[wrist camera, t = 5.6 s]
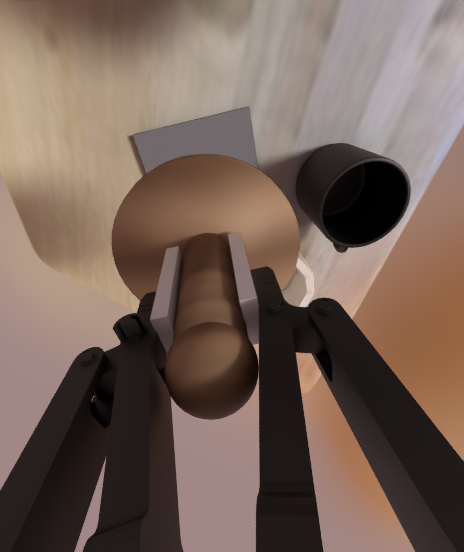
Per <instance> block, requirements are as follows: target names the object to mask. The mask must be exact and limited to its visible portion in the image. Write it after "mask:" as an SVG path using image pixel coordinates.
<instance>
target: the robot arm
mask: <svg viewBox="0 0 464 552" xmlns="http://www.w3.org/2000/svg"><path fill="white" fill-rule="evenodd" d="M228 237H229V243H230V249H231V255H232V261H233V267H234V273H235V279H236V285H237V291H238V297H239V302H240V306H241V310H242V314H243V318H244V320H245V323H246V326H247V332H248V337H249V340H250V341H251V343H252V345H253V344H258V343H259V433H260V434H259V439H260V440H259V443H260V445H259V448H260V488H259V493H258V496H257V504H256V505H257V506H256V552H323V546H322V539H321V532H320V524H319V517H318V510H317V503H316V496H315V490H314V483H313V476H312V469H311V461H310V454H309V447H308V439H307V432H306V425H305V418H304V410H303V404H302V396H301V389H300V381H299V374H298V367H297V360H296V352H299V353H312V355H313V357H314V359H315V361H316V363H317V365H318V367H319V369H320V371H321V373H322V374H323V376H324V378H325V380H326V382H327V384H328V386H329V388H330V390H331V392H332V393H333V395H334V397H335V399H336V401H337V403H338V405H339V407H340V409H341V411H342V413H343V415H344V416H345V418H346V420H347V422H348V424H349V426H350V428H351V430H352V432H353V433H354V436H355V437H356V439H357V441H358V443H359V445H360V447H361V449H362V451H363V453H364V454H365V457H366V458H367V460H368V462H369V464H370V466H371V468H372V470H373V472H374V474H375V476H376V477H377V479H378V481H379V483H380V485H381V487H382V489H383V491H384V492H385V495H386V497H387V498H388V500H389V502H390V504H391V506H392V508H393V510H394V512H395V514H396V516H397V518H398V519H399V521H400V523H401V525H402V527H403V529H404V531H405V533H406V535H407V537H408V538H409V540H410V542H411V544H412V546H413V548H414V550H415V552H464V461H463V460H462V459H461V458H460V456H459V455H458V454H457V453H456V451H455V450H454V449H453V448H452V446H451V445H450V444H449V442H448V441H447V440H446V439H445V437H444V436H443V435H442V433H441V432H440V431H439V430H438V428H437V427H436V426H435V425H434V423H433V422H432V421H431V419H430V418H429V417H428V416H427V414H426V413H425V412H424V411H423V409H422V408H421V407H420V405H419V404H418V403H417V402H416V400H415V399H414V398H413V397H412V395H411V394H410V393H409V391H408V390H407V389H406V388H405V386H404V385H403V384H402V383H401V381H400V380H399V379H398V377H397V376H396V375H395V374H394V372H393V371H392V370H391V369H390V367H389V366H388V365H387V364H386V362H385V361H384V360H383V358H382V357H381V356H380V355H379V353H378V352H377V351H376V349H375V348H374V347H373V346H372V344H371V343H370V342H369V341H368V339H367V338H366V337H365V335H364V334H363V333H362V332H361V330H360V329H359V328H358V327H357V325H356V324H355V323H354V321H353V320H352V319H351V318H350V316H349V315H348V314H347V313H346V311H345V310H344V309H343V307H342V306H341V305H340V304H339V303H338V302H337V301H336V300H333V299H330V298H318V299H316V300H313V301H312V302H311V303H310V304H309V306H308V307H297V306H293V305H291V304H289V303H288V302H287V301H285V299H284V297H283V294H282V291H281V289H280V286H279V284H278V281H277V278H276V276H275V273H274V271H273V270H272V269H271V268H270V267H268V266H266V267H261V268H256V269H252V270H250V268H249V264H248V260H247V257H246V253H245V249H244V245H243V241H242V237H241V233H240V232H238V233H234V234H230V235H228ZM182 263H183V258H182V255H181V252H180V249H179V246H176V247H172V248H168V249H166V253H165V257H164V261H163V266H162V270H161V274H160V279H159V283H158V287H157V291H155V292H150V293H146V294H145V295H144V297H143V298H142V299H141V301H140V304H139V308H138V311H137V313H133V314H128V315H126V316H124V317H122V318H121V319H119V320H118V321H117V322H116V323H115V325H114V327H113V330H114V331H115V333H116V335H117V336H118V338H119V340H120V341H121V343H120V345H119V346H117V347H115V348H113V349H111V350H108V351H106V352H104V351H103V350H102V349H101V348H99V347H92V348H89V349H87V350H85V351H83V352H82V353H80V354H79V355H78V356H77V357H76V359H75V360H74V361H73V363H72V365H71V367H70V368H69V370H68V372H67V374H66V376H65V377H64V379H63V381H62V383H61V384H60V386H59V388H58V390H57V391H56V393H55V395H54V397H53V398H52V400H51V402H50V404H49V405H48V408H47V409H46V411H45V413H44V414H43V416H42V418H41V420H40V422H39V423H38V425H37V427H36V428H35V430H34V432H33V434H32V436H31V437H30V439H29V441H28V443H27V444H26V446H25V448H24V450H23V451H22V453H21V455H20V457H19V459H18V461H17V462H16V464H15V466H14V468H13V469H12V471H11V473H10V474H9V476H8V478H7V480H6V482H5V483H4V485H3V487H2V489H1V490H0V552H74V551H75V548H76V545H77V542H78V539H79V536H80V533H81V530H82V527H83V524H84V521H85V518H86V515H87V512H88V508H89V506H90V503H91V500H92V497H93V494H94V491H95V488H96V485H97V482H98V479H99V476H100V473H101V470H102V467H103V464H104V461H105V458H106V465H105V472H104V481H103V488H102V497H101V505H100V513H99V521H98V526H97V529H96V532H95V533H94V534H93V535H92V536H91V537H90V538H89V539H88V540H87V542H86V544H85V546H84V549H83V552H183V548H182V545H181V538H180V526H179V511H178V496H177V481H176V467H175V452H174V438H173V424H172V411H171V410H172V409H171V396H170V393H169V391H168V389H167V386H166V382H165V375H164V367H165V360H166V355H167V353H168V351H169V348H170V346H171V345H172V343H173V337H174V328H175V320H176V312H177V304H178V296H179V288H180V279H181V271H182ZM93 396H94V398H93ZM92 398H93V400H92ZM91 400H92V401H91ZM106 455H107V456H106Z"/></svg>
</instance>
